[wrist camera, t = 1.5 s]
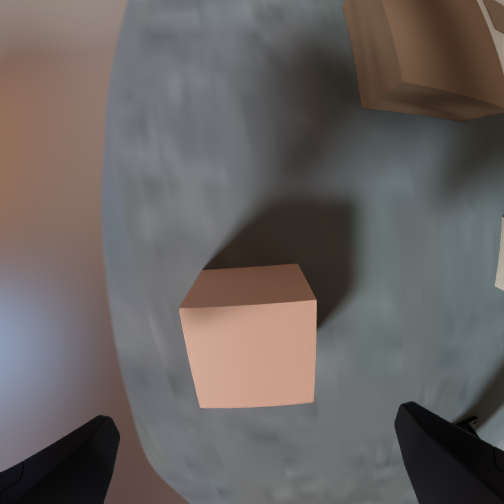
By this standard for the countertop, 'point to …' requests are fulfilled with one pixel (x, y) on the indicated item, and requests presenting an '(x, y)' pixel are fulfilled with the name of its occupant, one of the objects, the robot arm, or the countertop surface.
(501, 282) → the ash cube
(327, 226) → the countertop surface
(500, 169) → the countertop surface
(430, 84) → the walnut block
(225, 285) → the terracotta cube
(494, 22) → the card
